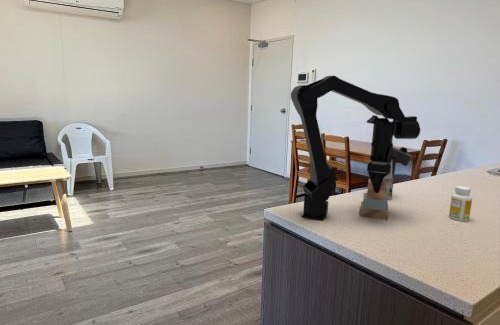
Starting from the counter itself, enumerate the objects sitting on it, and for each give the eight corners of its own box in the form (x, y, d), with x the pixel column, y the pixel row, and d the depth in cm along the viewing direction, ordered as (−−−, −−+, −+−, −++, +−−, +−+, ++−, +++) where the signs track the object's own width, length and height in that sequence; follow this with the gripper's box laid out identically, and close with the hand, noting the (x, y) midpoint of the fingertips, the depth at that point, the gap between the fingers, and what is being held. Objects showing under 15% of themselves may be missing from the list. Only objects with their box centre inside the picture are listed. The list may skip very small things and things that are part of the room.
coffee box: (392, 200, 125) (397, 155, 122) (373, 198, 127) (377, 154, 124) (387, 193, 134) (392, 151, 131) (370, 191, 135) (373, 150, 132)
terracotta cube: (366, 198, 108) (368, 182, 107) (367, 193, 113) (368, 178, 112) (384, 200, 107) (385, 184, 106) (384, 195, 111) (385, 180, 110)
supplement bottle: (466, 216, 110) (471, 186, 108) (471, 222, 105) (475, 190, 103) (447, 214, 112) (451, 184, 110) (450, 219, 107) (455, 188, 105)
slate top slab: (362, 208, 108) (363, 198, 108) (363, 201, 115) (363, 192, 114) (386, 211, 106) (387, 201, 105) (386, 204, 112) (387, 195, 112)
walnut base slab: (359, 217, 108) (359, 208, 108) (360, 209, 116) (361, 201, 115) (386, 221, 106) (387, 212, 105) (386, 213, 113) (387, 204, 112)
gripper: (413, 145, 95) (406, 201, 98) (410, 137, 112) (404, 185, 115) (369, 141, 99) (364, 195, 102) (373, 134, 116) (368, 181, 119)
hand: (377, 189), depth 109 cm, fingers open, 9 cm apart
